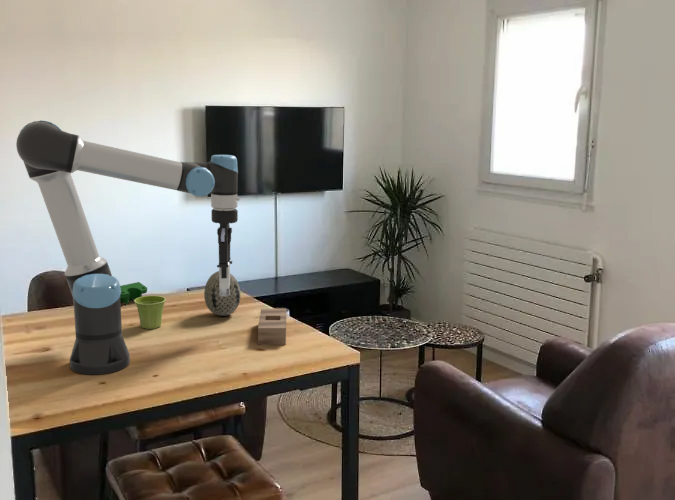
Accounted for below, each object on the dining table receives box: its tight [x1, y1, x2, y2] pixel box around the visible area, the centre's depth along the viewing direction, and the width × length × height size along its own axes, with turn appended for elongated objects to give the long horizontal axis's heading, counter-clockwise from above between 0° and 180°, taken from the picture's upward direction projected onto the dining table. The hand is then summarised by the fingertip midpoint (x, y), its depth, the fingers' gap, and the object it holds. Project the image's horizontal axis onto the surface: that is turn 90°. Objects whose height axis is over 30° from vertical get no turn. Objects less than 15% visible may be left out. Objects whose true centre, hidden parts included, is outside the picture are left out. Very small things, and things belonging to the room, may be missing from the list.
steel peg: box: [218, 262, 231, 297], centre depth 215 cm, size 3×3×10 cm
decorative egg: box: [203, 270, 241, 317], centre depth 237 cm, size 12×12×15 cm
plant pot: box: [133, 295, 167, 330], centre depth 225 cm, size 9×9×9 cm
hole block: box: [257, 307, 287, 346], centre depth 221 cm, size 20×8×5 cm, turn 3°
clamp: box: [120, 281, 148, 306], centre depth 251 cm, size 12×6×9 cm, turn 133°
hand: (224, 286), depth 215 cm, fingers closed on steel peg, 2 cm apart
